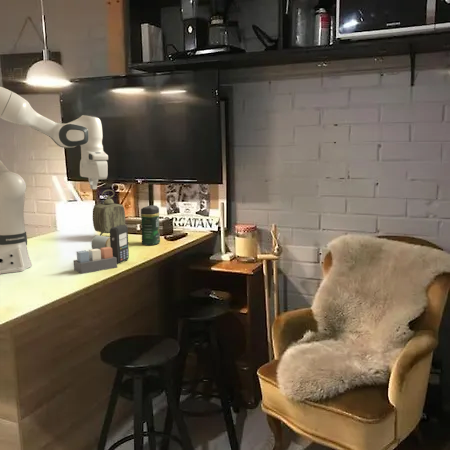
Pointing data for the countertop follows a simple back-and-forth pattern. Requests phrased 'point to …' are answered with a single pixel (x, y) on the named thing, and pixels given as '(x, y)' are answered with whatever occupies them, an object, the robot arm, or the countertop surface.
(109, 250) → the key rust
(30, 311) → the countertop surface
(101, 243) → the ceramic mug
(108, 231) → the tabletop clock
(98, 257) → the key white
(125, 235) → the card reader
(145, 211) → the coffee jar
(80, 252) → the key blue
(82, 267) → the grey rectangular tray
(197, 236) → the countertop surface
